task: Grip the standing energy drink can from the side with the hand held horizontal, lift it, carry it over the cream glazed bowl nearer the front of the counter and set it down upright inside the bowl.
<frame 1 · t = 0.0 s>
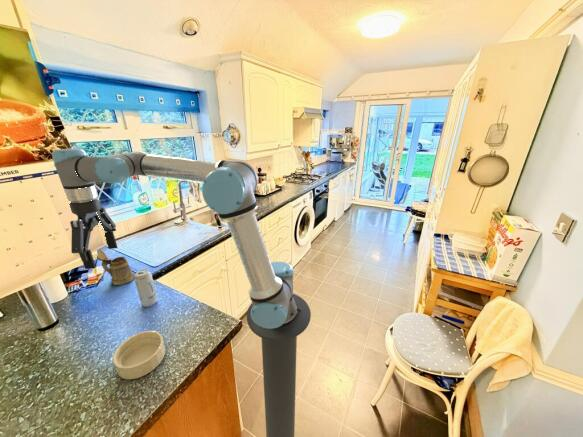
hand: (102, 257, 82), 27 cm above the worktop, tool pointing down, fingers open, 13 cm apart
wooden mug: (118, 280, 114), on the worktop
bowl: (142, 360, 75), on the worktop
energy drink can: (150, 303, 100), on the worktop
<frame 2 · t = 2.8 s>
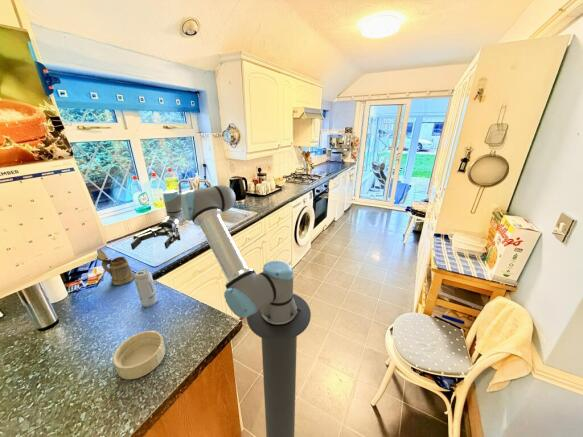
hand: (149, 246, 100), 22 cm above the worktop, tool horizontal, fingers open, 13 cm apart
nothing on the worktop moved.
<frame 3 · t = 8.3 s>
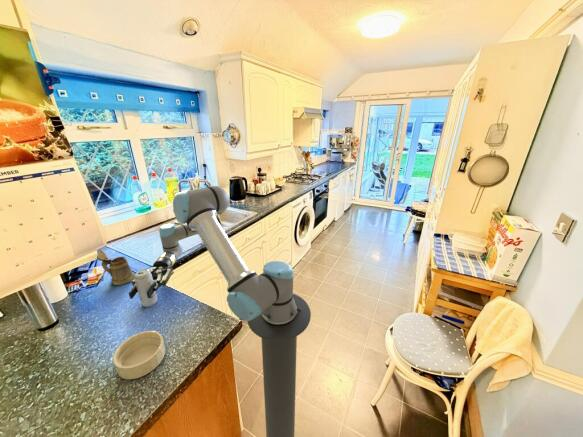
hand: (139, 295, 92), 8 cm above the worktop, tool horizontal, fingers closed on energy drink can, 6 cm apart
energy drink can: (150, 303, 100), on the worktop, touching gripper
everything else where it was.
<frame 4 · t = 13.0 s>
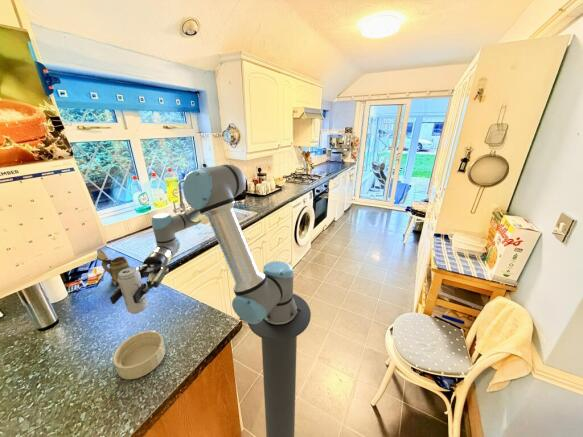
hand: (123, 300, 73), 20 cm above the worktop, tool horizontal, fingers closed on energy drink can, 6 cm apart
energy drink can: (138, 308, 80), point 12 cm above the worktop, touching gripper
everything else where it was.
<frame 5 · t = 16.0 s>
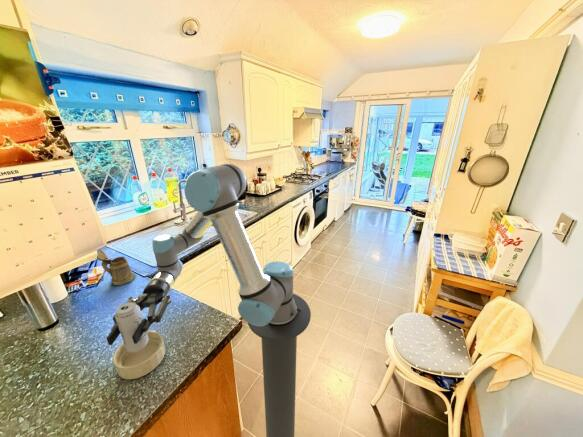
hand: (121, 340, 65), 14 cm above the worktop, tool horizontal, fingers closed on energy drink can, 6 cm apart
energy drink can: (138, 346, 73), point 6 cm above the worktop, touching gripper
everything else where it was.
when the fingers open (9 cm above the worktop, at t = 17.9 s): energy drink can stays where it is, resting on bowl.
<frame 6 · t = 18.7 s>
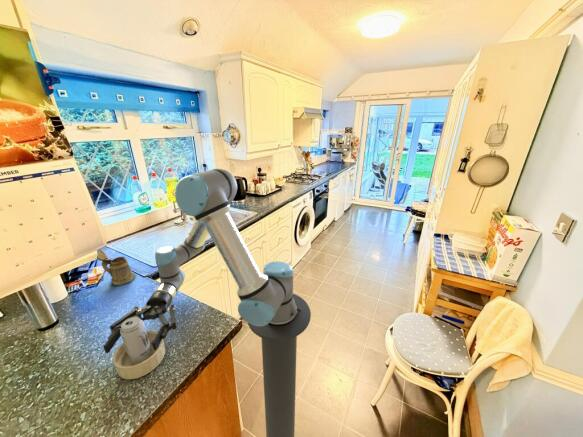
hand: (130, 348, 69), 9 cm above the worktop, tool horizontal, fingers open, 13 cm apart
energy drink can: (142, 358, 75), point 1 cm above the worktop, touching bowl
everything else where it was.
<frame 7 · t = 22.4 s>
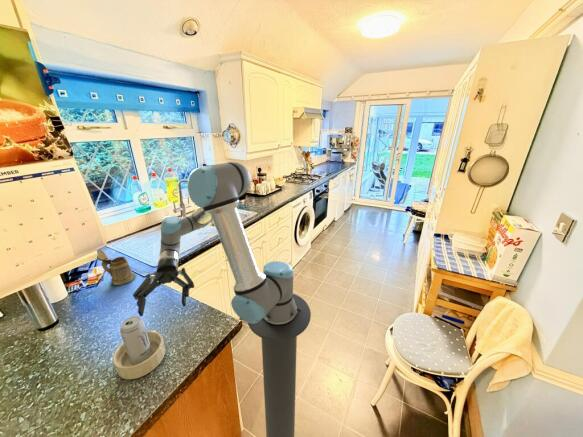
hand: (162, 309, 81), 11 cm above the worktop, tool tilted 75°, fingers open, 13 cm apart
nothing on the worktop moved.
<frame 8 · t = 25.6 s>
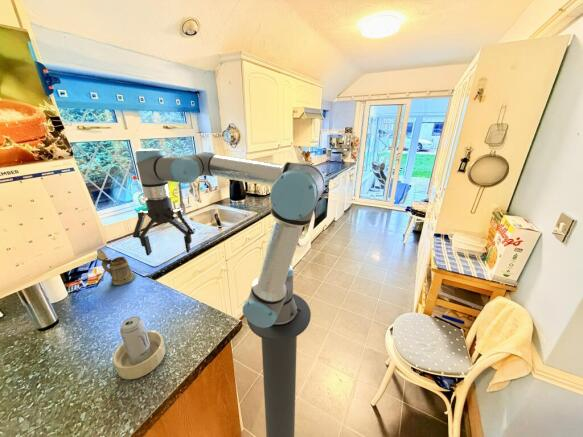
hand: (169, 252, 87), 27 cm above the worktop, tool pointing down, fingers open, 13 cm apart
nothing on the worktop moved.
at the end: energy drink can inside the target area in the bowl (0.1 cm from its centre), point 0.6 cm above the bowl's base; energy drink can tilted 0°; the gripper is holding nothing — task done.
